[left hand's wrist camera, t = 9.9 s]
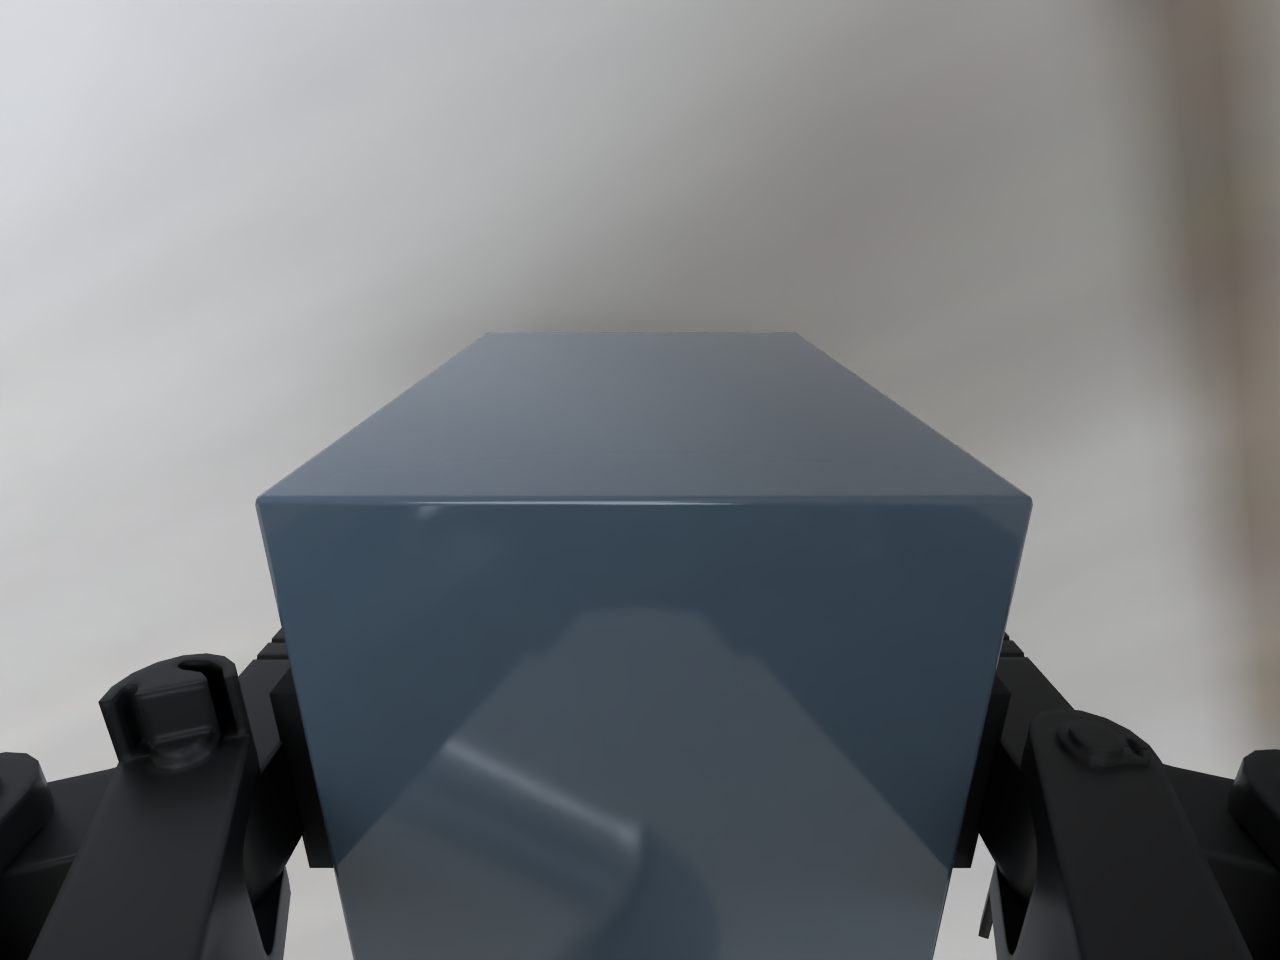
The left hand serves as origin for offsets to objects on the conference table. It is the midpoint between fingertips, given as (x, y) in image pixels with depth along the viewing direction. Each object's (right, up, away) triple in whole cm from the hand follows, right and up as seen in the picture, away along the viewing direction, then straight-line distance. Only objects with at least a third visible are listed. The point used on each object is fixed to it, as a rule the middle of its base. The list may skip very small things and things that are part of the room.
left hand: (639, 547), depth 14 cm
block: (0, +1, +2) cm, 3 cm away
